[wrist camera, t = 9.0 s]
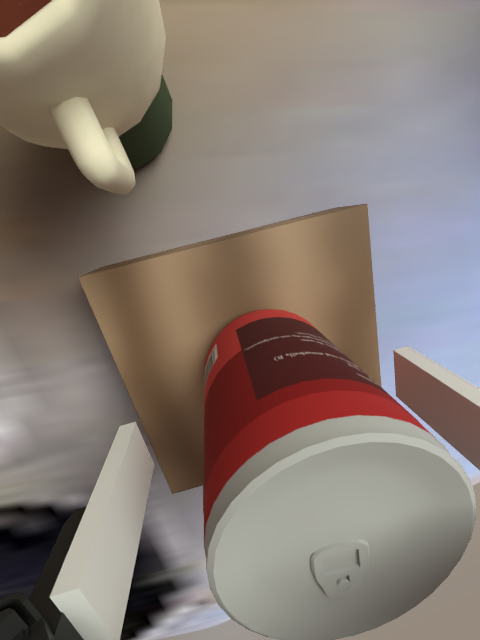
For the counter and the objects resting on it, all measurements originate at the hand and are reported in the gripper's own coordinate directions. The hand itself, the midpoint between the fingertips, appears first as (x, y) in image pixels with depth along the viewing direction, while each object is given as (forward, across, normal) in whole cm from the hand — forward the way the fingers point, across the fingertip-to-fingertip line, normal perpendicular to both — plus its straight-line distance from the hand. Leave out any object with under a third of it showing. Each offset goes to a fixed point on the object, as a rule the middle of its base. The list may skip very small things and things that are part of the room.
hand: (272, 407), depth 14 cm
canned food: (+4, 0, 0) cm, 4 cm away
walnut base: (+8, 0, 0) cm, 8 cm away
